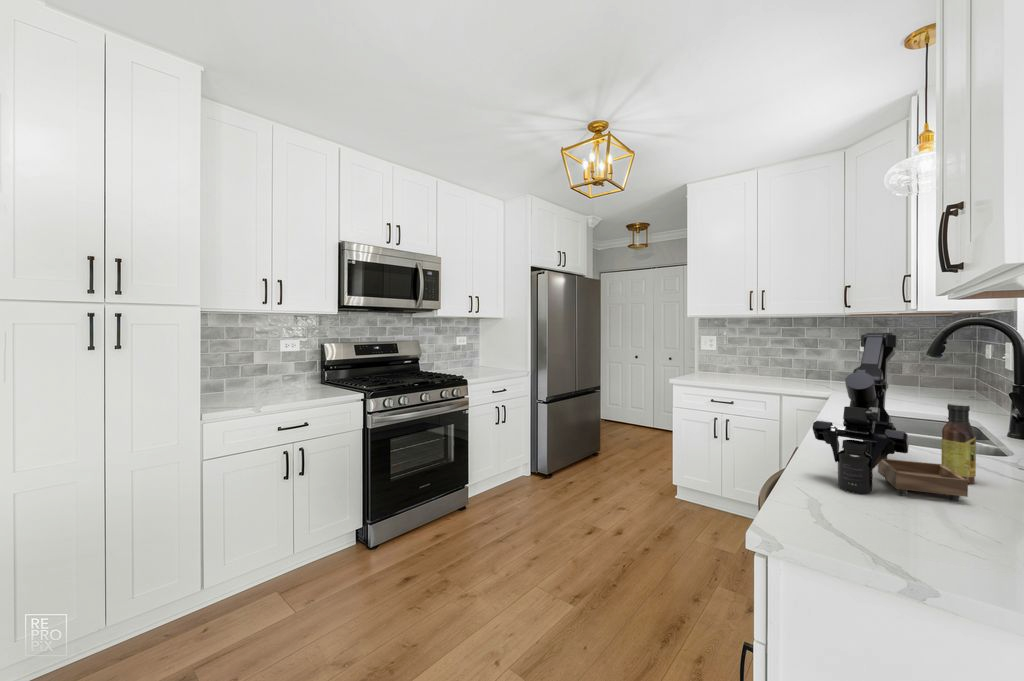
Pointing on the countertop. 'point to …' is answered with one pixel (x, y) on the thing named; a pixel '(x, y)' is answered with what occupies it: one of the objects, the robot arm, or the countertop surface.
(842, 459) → the supplement bottle
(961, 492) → the square wooden tray
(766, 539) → the countertop surface
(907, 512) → the countertop surface
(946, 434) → the sauce bottle
